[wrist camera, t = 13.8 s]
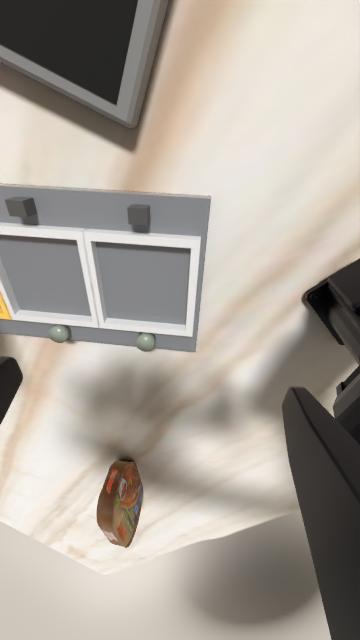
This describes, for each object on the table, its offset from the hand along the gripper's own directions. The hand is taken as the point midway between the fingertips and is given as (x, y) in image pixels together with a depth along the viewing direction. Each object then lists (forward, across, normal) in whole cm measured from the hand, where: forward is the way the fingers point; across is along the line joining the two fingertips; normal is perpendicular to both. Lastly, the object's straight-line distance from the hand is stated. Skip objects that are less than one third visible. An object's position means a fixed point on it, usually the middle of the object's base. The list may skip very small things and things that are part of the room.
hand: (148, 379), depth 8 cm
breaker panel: (+13, +11, +3) cm, 17 cm away
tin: (+13, +7, +38) cm, 41 cm away
